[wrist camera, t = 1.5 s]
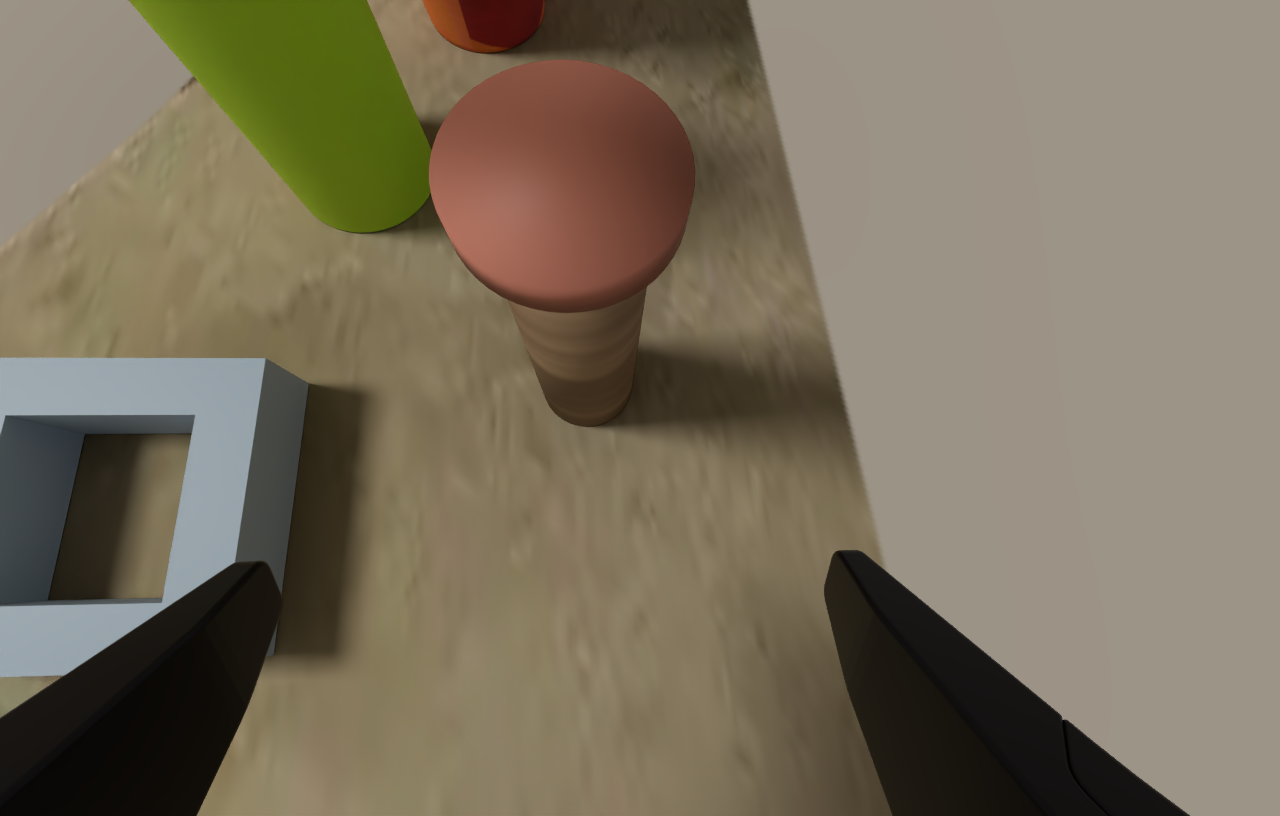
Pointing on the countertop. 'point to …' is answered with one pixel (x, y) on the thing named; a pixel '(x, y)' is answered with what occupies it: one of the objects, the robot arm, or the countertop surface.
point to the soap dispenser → (309, 99)
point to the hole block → (210, 500)
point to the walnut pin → (567, 216)
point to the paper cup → (486, 22)
